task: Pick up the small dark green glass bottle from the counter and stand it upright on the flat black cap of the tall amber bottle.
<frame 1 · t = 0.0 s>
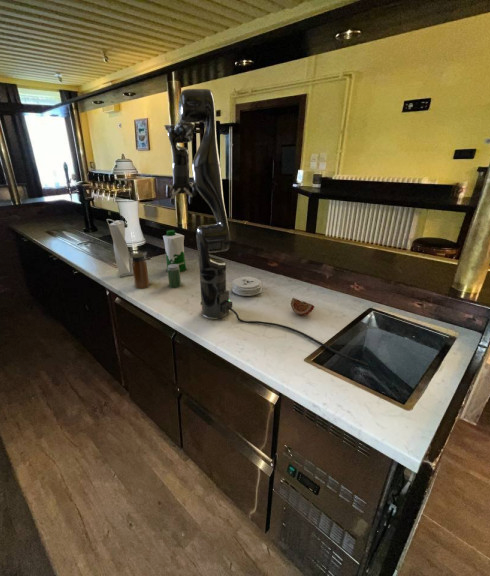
hand: (181, 204, 149), 31 cm above the worktop, tool tilted 20°, fingers open, 8 cm apart
fruit slice: (301, 313, 110), on the worktop
amber bottle: (142, 285, 138), on the worktop
white paper bag: (125, 273, 153), on the worktop
milk carton: (176, 270, 155), on the worktop
green bottle: (175, 285, 137), on the worktop
lid: (246, 291, 128), on the worktop
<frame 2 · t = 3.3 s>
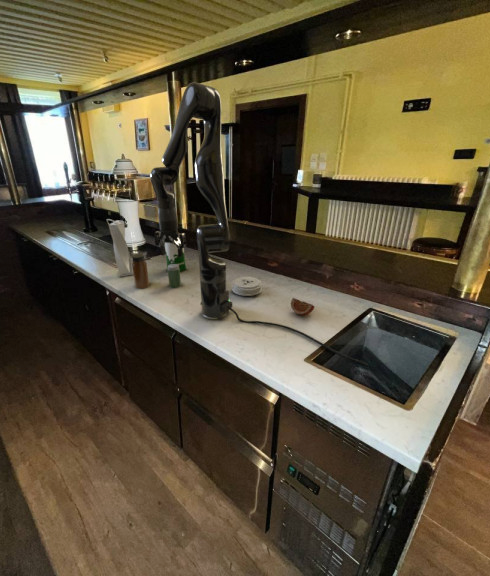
hand: (171, 255, 131), 14 cm above the worktop, tool pointing down, fingers open, 8 cm apart
nothing on the worktop moved.
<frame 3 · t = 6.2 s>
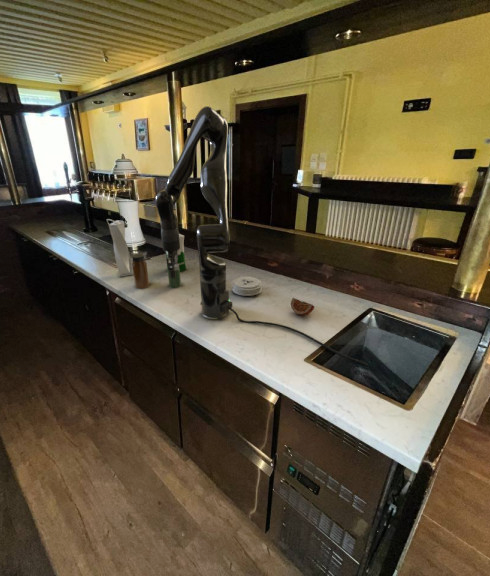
hand: (174, 275, 135), 5 cm above the worktop, tool pointing down, fingers closed on green bottle, 5 cm apart
green bottle: (175, 285, 137), on the worktop, touching gripper
everything else where it was.
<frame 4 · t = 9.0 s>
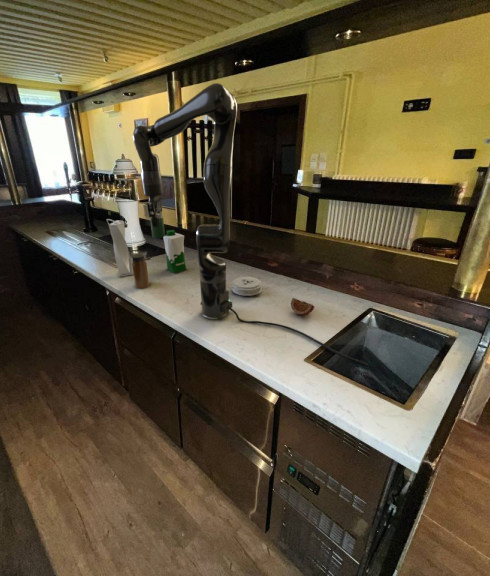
hand: (157, 224, 127), 28 cm above the worktop, tool pointing down, fingers closed on green bottle, 5 cm apart
green bottle: (158, 236, 129), point 23 cm above the worktop, touching gripper
everything else where it was.
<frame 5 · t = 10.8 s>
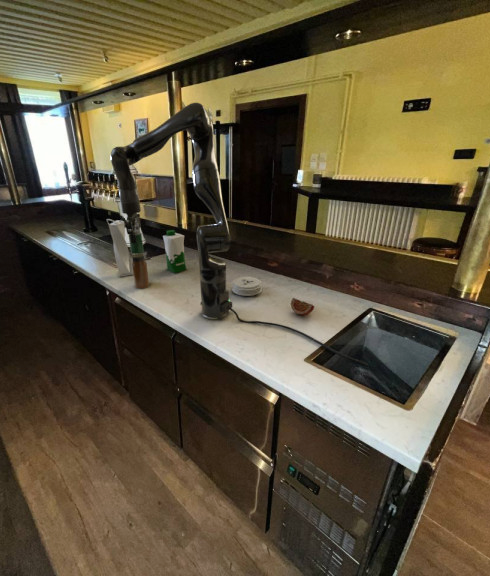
hand: (135, 240, 129), 21 cm above the worktop, tool pointing down, fingers closed on green bottle, 5 cm apart
green bottle: (137, 251, 132), point 16 cm above the worktop, touching gripper
everything else where it was.
when the fingers open (19 cm above the worktop, at t = 11.8 s): green bottle stays where it is, resting on amber bottle.
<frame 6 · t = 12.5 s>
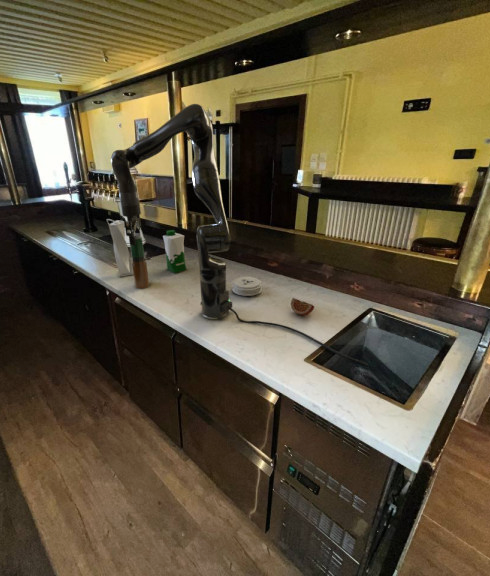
hand: (135, 241, 130), 21 cm above the worktop, tool pointing down, fingers open, 8 cm apart
amber bottle: (142, 285, 138), on the worktop, touching green bottle
green bottle: (138, 255, 132), point 14 cm above the worktop, touching amber bottle
everything else where it was.
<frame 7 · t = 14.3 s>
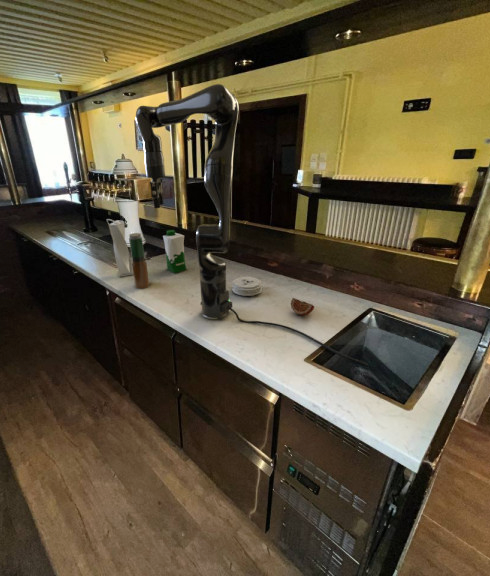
hand: (159, 206, 126), 35 cm above the worktop, tool pointing down, fingers open, 8 cm apart
nothing on the worktop moved.
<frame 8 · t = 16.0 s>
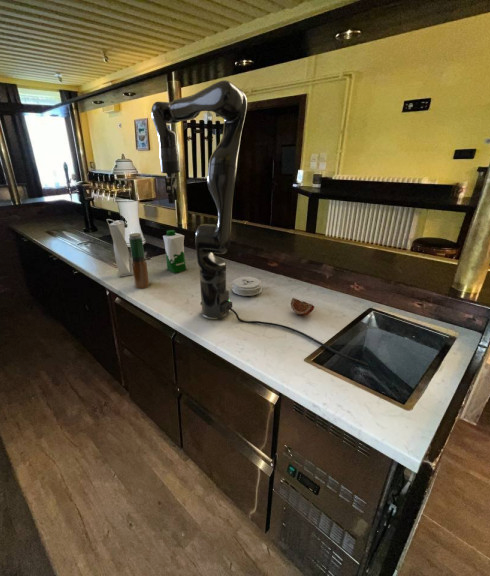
hand: (173, 201, 127), 36 cm above the worktop, tool pointing down, fingers open, 8 cm apart
nothing on the worktop moved.
at the end: green bottle 0.1 cm off-centre on the amber bottle, point 14.5 cm above the amber bottle's base; green bottle tilted 0° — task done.
